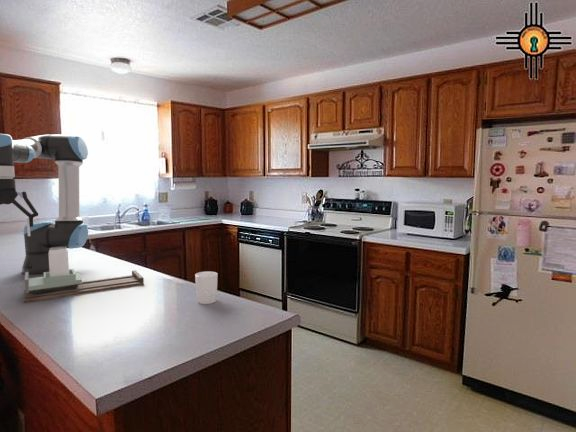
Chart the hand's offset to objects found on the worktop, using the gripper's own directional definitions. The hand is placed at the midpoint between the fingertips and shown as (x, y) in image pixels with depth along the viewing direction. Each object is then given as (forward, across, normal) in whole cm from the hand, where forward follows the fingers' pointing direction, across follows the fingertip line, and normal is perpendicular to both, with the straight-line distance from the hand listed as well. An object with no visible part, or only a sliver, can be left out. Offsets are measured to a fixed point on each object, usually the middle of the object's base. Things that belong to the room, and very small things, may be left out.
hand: (6, 237), depth 140 cm
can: (+18, -16, 0) cm, 24 cm away
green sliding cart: (+21, -14, 0) cm, 25 cm away
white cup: (+23, -60, +41) cm, 76 cm away
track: (+23, -25, -1) cm, 34 cm away
